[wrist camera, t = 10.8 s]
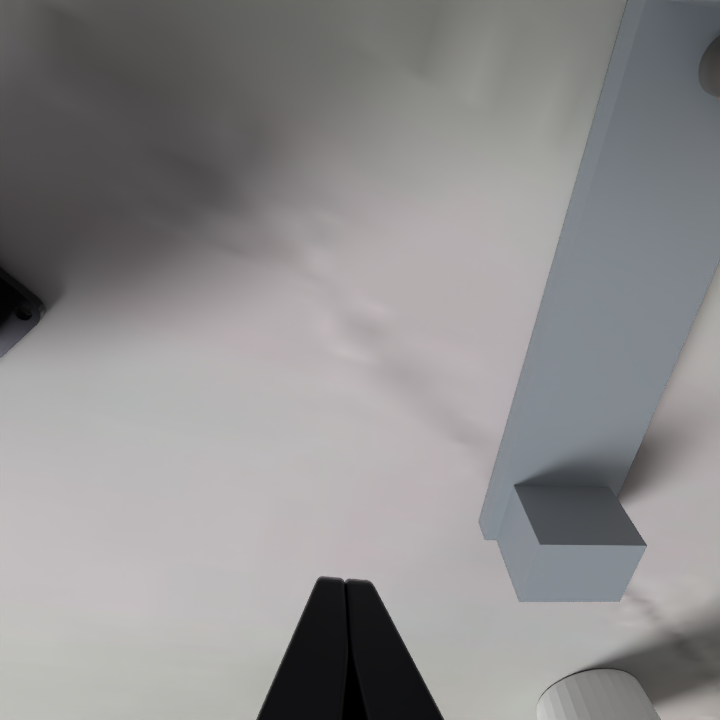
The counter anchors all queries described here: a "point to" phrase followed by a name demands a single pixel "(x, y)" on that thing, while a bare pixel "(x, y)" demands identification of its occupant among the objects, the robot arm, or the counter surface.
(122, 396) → the counter surface
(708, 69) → the gate leaf
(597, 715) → the coffee cup
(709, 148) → the gate frame
